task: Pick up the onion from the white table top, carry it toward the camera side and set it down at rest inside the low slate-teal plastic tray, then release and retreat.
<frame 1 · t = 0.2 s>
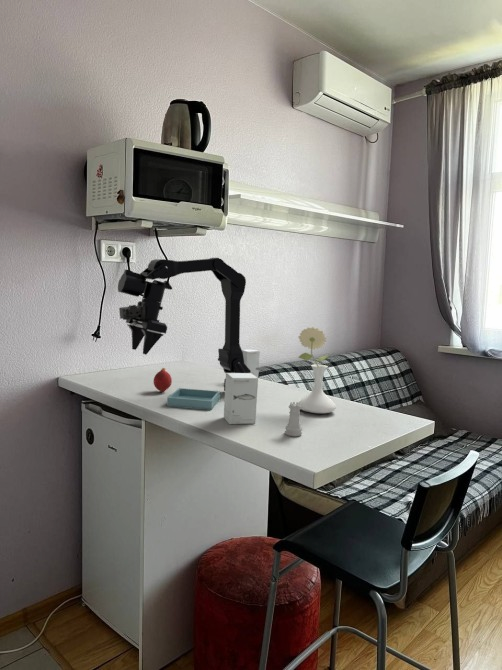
hand: (139, 351, 156), 15 cm above the table, tool pointing down, fingers open, 9 cm apart
tray: (194, 402, 159), on the table
onion: (162, 392, 171), on the table
skincare box: (248, 383, 192), on the table
rook chess piece: (293, 435, 133), on the table
supplement box: (239, 421, 143), on the table
flower in vase: (313, 411, 157), on the table
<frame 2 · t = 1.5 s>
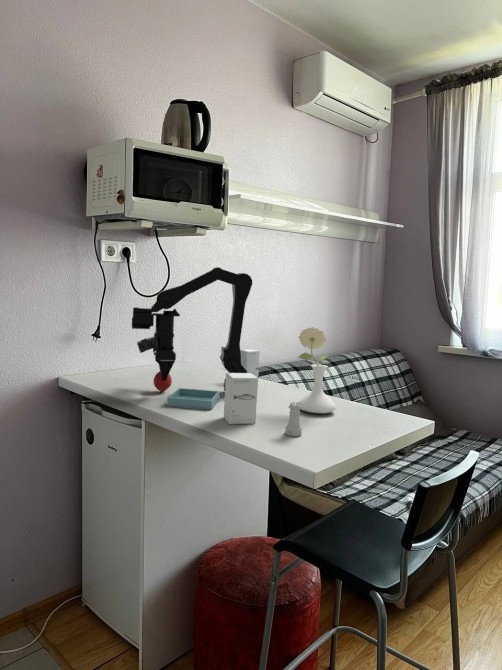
hand: (163, 377, 170), 5 cm above the table, tool pointing down, fingers open, 9 cm apart
nothing on the table moved.
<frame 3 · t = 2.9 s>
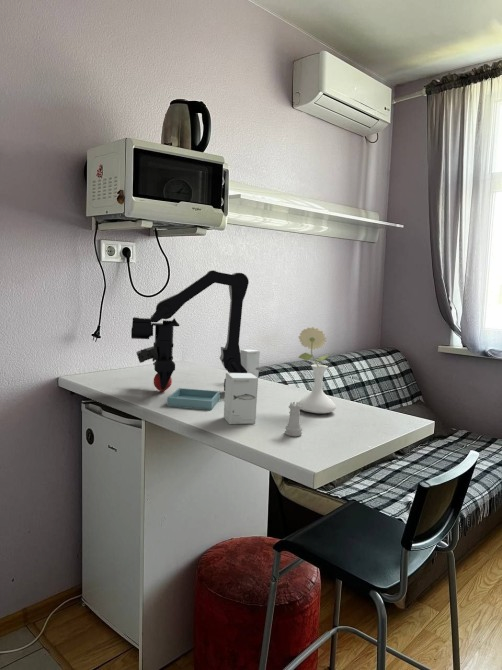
hand: (162, 387, 171), 2 cm above the table, tool pointing down, fingers closed on onion, 6 cm apart
onion: (162, 392, 171), on the table, touching gripper
everything else where it was.
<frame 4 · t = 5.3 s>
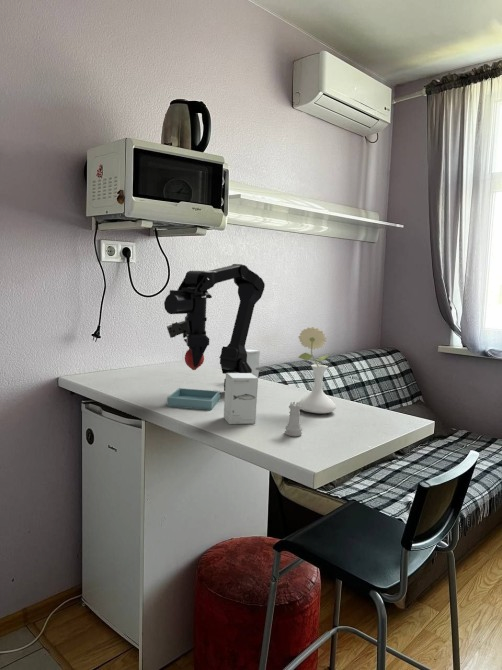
hand: (194, 364, 159), 12 cm above the table, tool pointing down, fingers closed on onion, 6 cm apart
onion: (193, 370, 159), point 10 cm above the table, touching gripper
everything else where it was.
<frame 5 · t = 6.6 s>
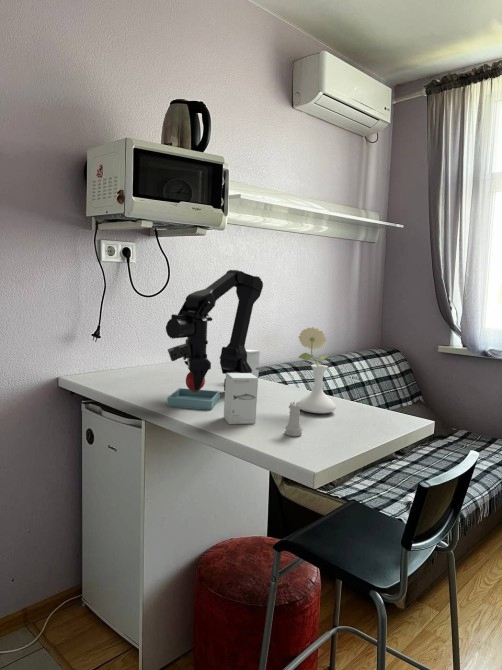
hand: (195, 387, 159), 5 cm above the table, tool pointing down, fingers closed on onion, 6 cm apart
onion: (194, 393, 159), point 3 cm above the table, touching gripper
everything else where it was.
when the fingers open (3 cm above the table, at t = 7.8 s): onion stays where it is, resting on tray.
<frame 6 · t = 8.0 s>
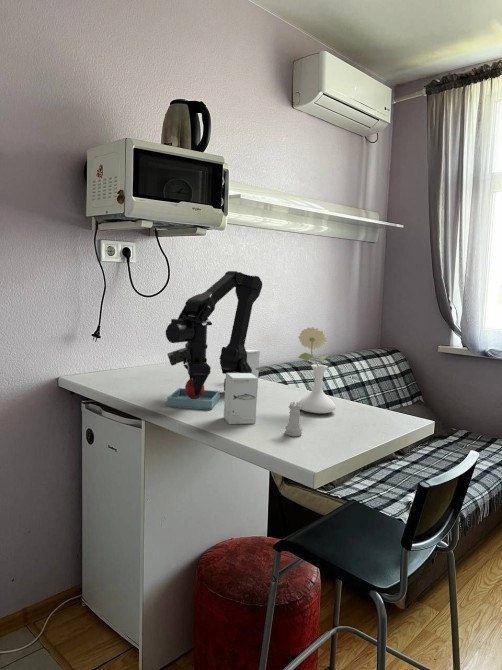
hand: (194, 391, 159), 3 cm above the table, tool pointing down, fingers open, 8 cm apart
onion: (194, 401, 159), resting on tray
everything else where it was.
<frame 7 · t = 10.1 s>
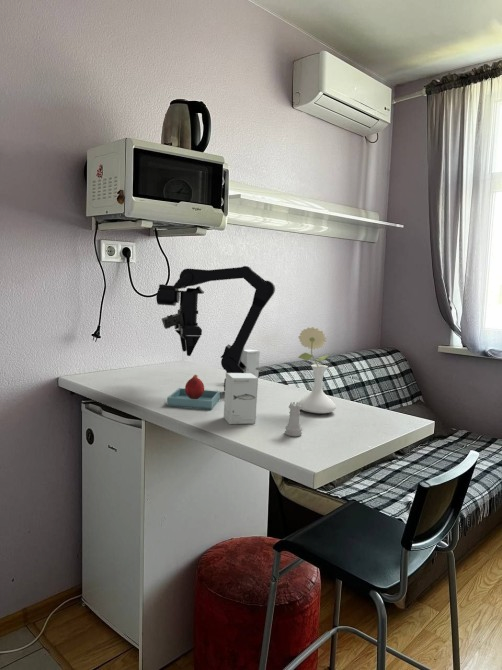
hand: (186, 353, 175), 12 cm above the table, tool pointing down, fingers open, 9 cm apart
nothing on the table moved.
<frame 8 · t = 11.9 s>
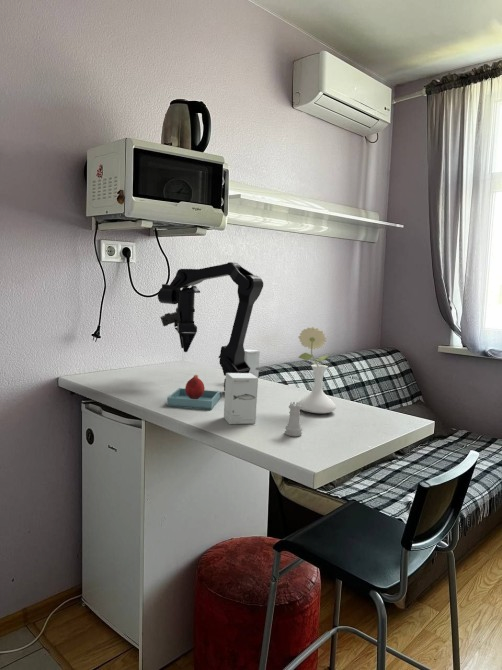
hand: (184, 350, 184), 12 cm above the table, tool pointing down, fingers open, 9 cm apart
nothing on the table moved.
at the end: onion inside the target area on the tray (0.0 cm from its centre), point 0.4 cm above the tray's base; onion touching tray; the gripper is holding nothing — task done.
